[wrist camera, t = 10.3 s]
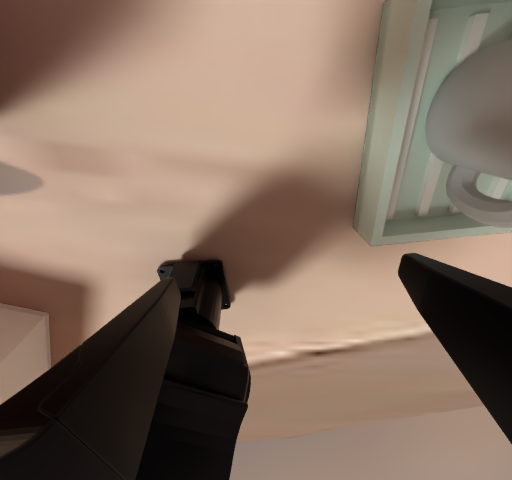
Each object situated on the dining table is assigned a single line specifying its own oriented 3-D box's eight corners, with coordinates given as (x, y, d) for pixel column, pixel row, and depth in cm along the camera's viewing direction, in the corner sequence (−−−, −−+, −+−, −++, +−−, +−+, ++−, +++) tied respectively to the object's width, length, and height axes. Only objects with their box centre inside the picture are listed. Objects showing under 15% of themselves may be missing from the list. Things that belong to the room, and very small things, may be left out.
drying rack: (494, 213, 22) (535, 229, 19) (352, 227, 22) (370, 246, 19) (603, -21, 14) (702, -57, 11) (383, 3, 14) (422, -27, 11)
